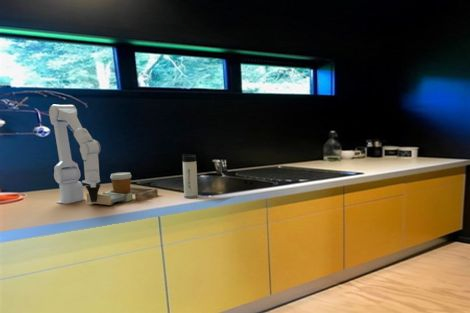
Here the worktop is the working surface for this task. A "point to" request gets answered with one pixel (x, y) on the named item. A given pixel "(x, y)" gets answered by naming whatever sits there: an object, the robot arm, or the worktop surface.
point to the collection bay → (141, 193)
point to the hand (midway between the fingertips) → (94, 201)
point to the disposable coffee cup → (121, 182)
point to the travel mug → (190, 176)
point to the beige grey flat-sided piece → (110, 198)
